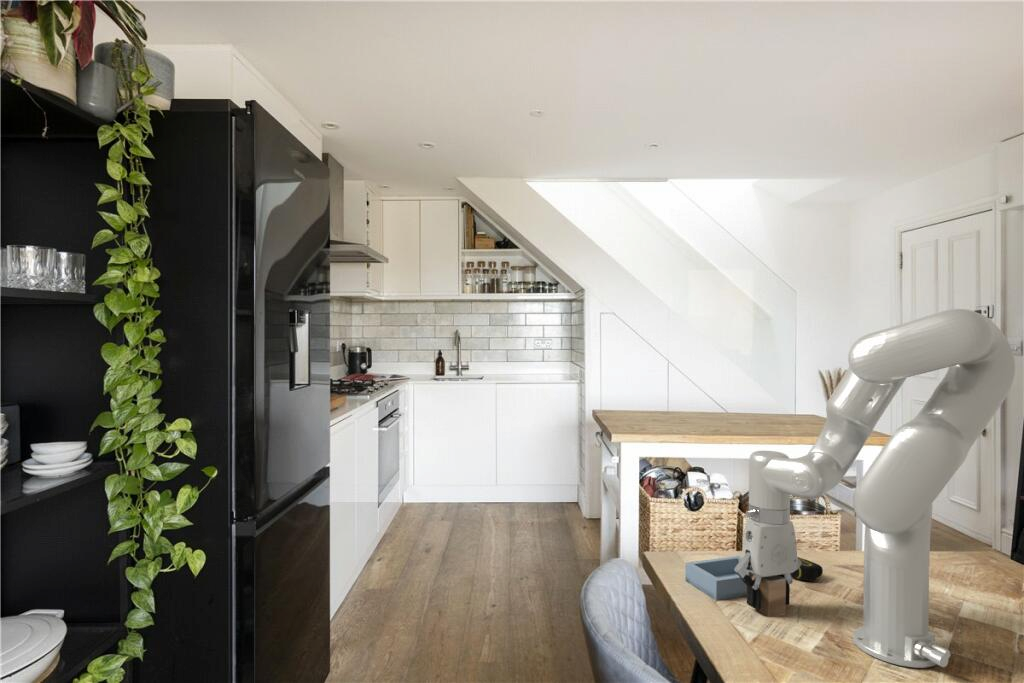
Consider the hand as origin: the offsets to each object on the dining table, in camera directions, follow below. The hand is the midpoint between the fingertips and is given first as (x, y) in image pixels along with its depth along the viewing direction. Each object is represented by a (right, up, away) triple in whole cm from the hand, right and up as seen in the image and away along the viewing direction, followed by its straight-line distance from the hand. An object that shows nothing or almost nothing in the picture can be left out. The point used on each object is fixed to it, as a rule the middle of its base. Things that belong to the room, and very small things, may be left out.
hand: (768, 603), depth 117 cm
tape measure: (+15, -2, +18) cm, 23 cm away
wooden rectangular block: (0, -1, 0) cm, 1 cm away
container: (-4, -1, +11) cm, 12 cm away
